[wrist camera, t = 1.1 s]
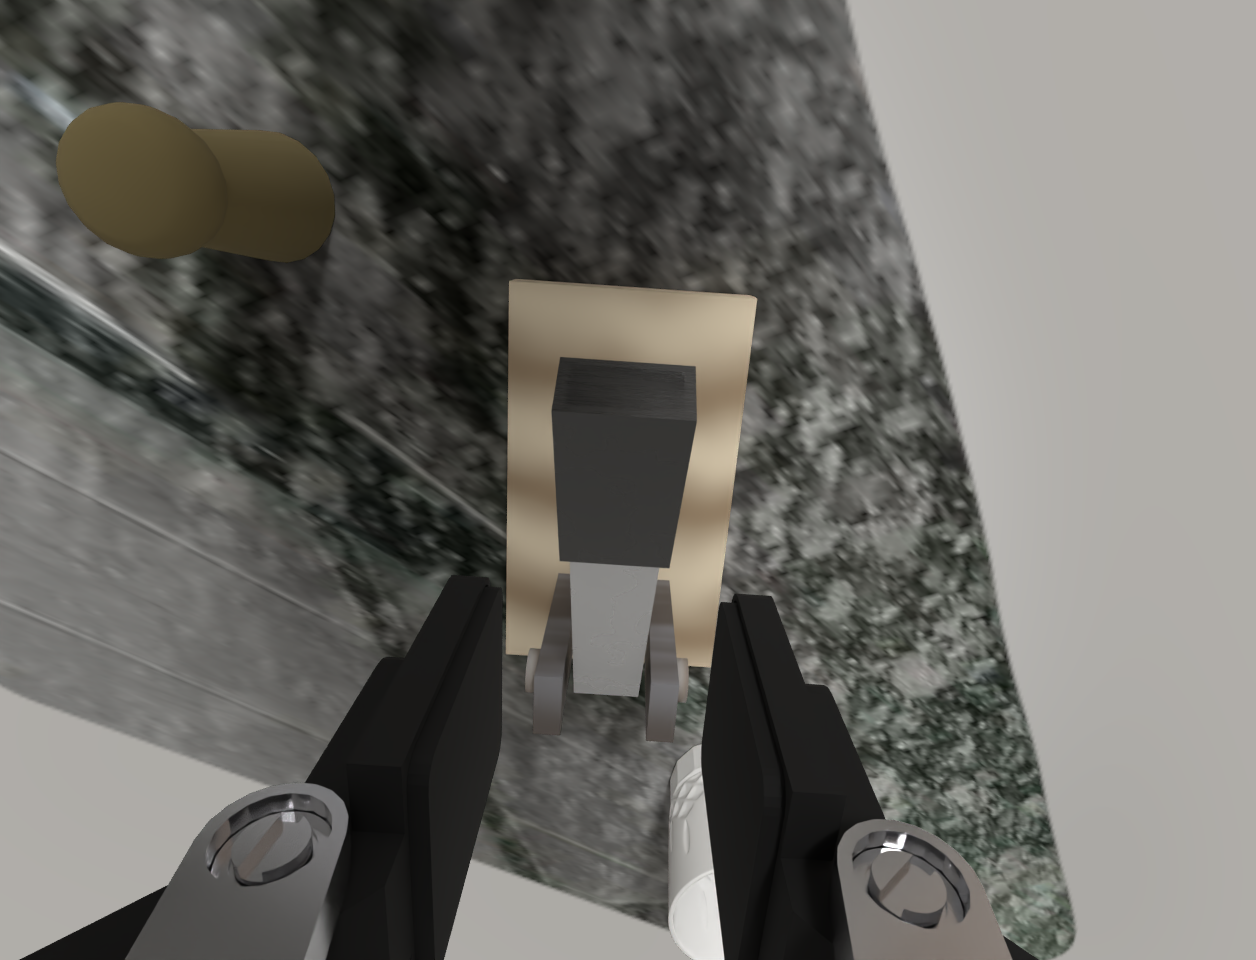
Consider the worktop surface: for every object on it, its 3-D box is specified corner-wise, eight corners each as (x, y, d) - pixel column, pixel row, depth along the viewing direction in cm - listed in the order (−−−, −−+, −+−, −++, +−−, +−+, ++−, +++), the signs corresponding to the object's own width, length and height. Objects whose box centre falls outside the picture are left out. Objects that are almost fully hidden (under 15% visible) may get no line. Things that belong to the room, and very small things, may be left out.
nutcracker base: (516, 278, 35) (460, 296, 24) (750, 295, 35) (802, 320, 24) (512, 635, 42) (467, 774, 31) (707, 647, 42) (731, 791, 31)
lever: (567, 309, 19) (551, 410, 17) (694, 318, 19) (696, 421, 17) (575, 619, 34) (567, 697, 32) (646, 624, 34) (644, 702, 32)
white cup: (640, 797, 46) (641, 941, 36) (700, 712, 43) (717, 843, 34) (740, 840, 47) (766, 992, 37) (804, 760, 45) (848, 900, 35)
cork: (345, 259, 34) (219, 268, 24) (228, 265, 35) (52, 276, 24) (322, 127, 32) (174, 73, 22) (198, 133, 33) (-7, 83, 22)
